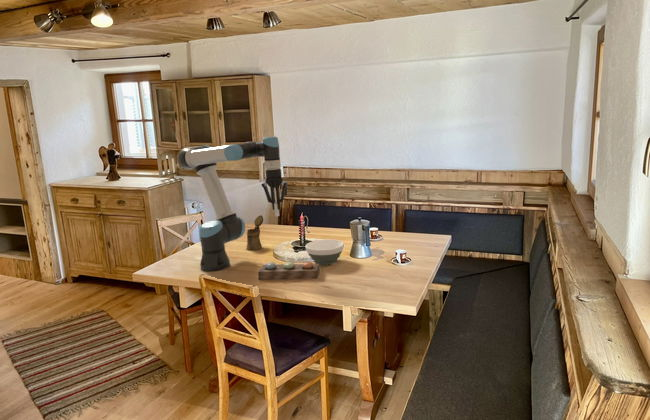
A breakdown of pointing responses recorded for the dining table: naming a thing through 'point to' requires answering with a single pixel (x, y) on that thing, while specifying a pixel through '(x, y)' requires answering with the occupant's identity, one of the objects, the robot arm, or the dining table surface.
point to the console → (289, 272)
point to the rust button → (307, 265)
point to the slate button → (270, 266)
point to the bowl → (325, 251)
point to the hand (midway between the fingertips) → (277, 215)
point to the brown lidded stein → (254, 235)
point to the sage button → (289, 265)
